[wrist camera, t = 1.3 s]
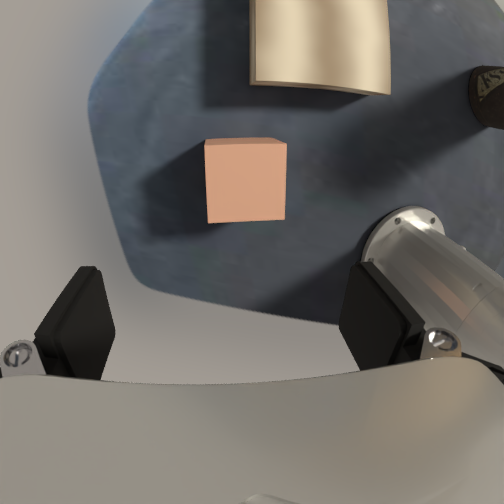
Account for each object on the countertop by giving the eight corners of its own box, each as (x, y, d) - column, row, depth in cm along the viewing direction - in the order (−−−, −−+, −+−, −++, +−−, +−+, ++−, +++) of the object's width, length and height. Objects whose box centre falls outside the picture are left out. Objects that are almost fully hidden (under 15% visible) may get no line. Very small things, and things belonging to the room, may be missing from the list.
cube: (271, 137, 27) (286, 143, 21) (270, 198, 29) (284, 219, 24) (205, 139, 26) (204, 145, 21) (208, 201, 29) (208, 223, 23)
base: (365, -6, 20) (384, -17, 17) (369, 95, 26) (390, 94, 22) (249, -24, 19) (255, -42, 15) (249, 85, 24) (255, 80, 21)
